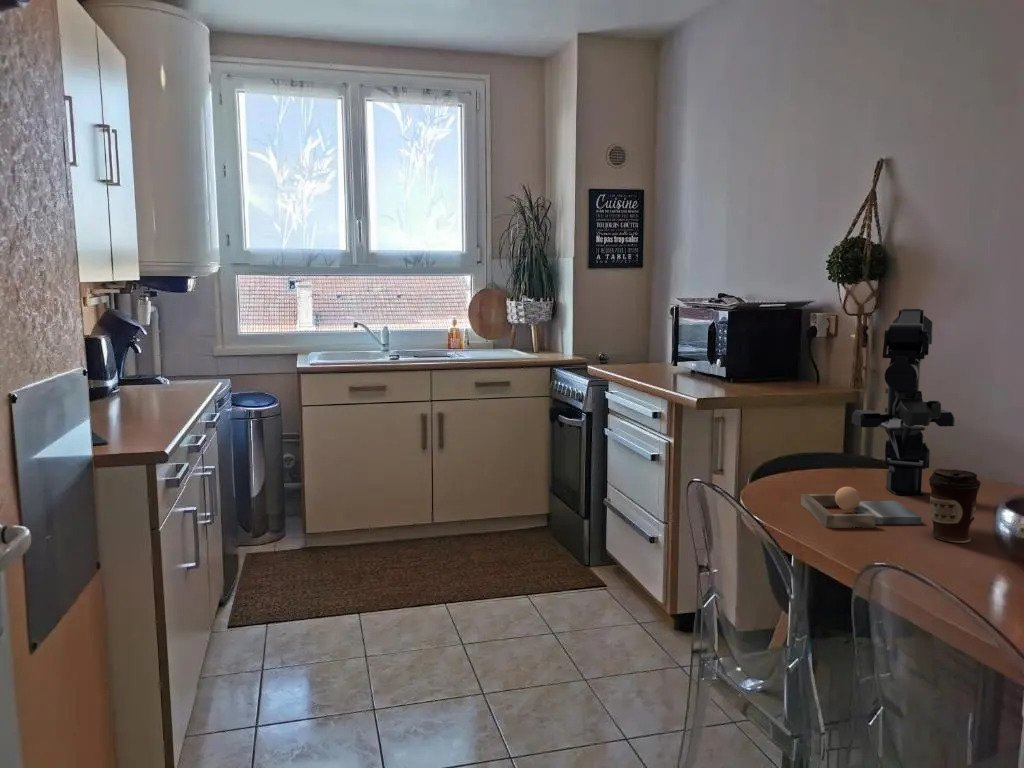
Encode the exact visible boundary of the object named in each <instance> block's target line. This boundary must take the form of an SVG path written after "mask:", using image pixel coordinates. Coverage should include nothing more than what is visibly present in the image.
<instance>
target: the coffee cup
mask: <svg viewBox="0 0 1024 768" xmlns="http://www.w3.org/2000/svg"><path fill="white" fill-rule="evenodd" d="M928 481H929V483H928V484H929V487H930V491H931V492H930V494H929V498H930V499H929V506H930V519H931V521H932V527H933V528H932V529H933V530H932V533H931V534H932V537H933V538H936V539H938V540H939V541H941V540H942V541H945V542H949V543H958V544H959V543H961V544H965V543H969V542H971V540H972V539H971V536H970V534H969V532H970V531H969V530H970V527H971V525H972V523H973V521H975V515H976V511H977V506H978V504H977V496H978V494H979V492H980V491H979V490H980V487H981V483H982V482H981V481H980V480H979V479H978V474H977V473H975V472H972V471H968V470H962V469H946V468H937V469H934V470H933V472H932V474H931V475H930V476H929V478H928Z"/></svg>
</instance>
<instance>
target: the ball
mask: <svg viewBox="0 0 1024 768" xmlns="http://www.w3.org/2000/svg"><path fill="white" fill-rule="evenodd" d="M834 494H835V501H836V504H837V505H838V506H839V508H840V509H842V510H844V511H852V510H853V509H855V508H856V507H858V505H859V503H860V501H861V496H860V493H859V491H858V490H856V488H854V487H852V486H842V487H840V488H839V489H838V490H836V491H835V493H834Z"/></svg>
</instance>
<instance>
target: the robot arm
mask: <svg viewBox="0 0 1024 768" xmlns="http://www.w3.org/2000/svg"><path fill="white" fill-rule="evenodd" d="M933 325H934V323H933V321H932V320H931V319H930V318H928V317H927V316H926V315H925V310H924V309H921V308H902V309H899V310H898V316H897V317H896V318H895V319H894V320H893V321H892V322H891V323H890V324H889V325H888V329H885V330H884V337H883V347H882V359H890V361H889V362H888V367H887V368H886V369H885V371H884V381H885V384H887V386H888V387H885V394H887V405H886V406H887V407H884V413H880V412H877V411H875V410H872V409H854V411H853V413H852V414H851V423H852V424H854V425H856V426H858V427H861V428H878V427H879V428H882V429H883V430H884V431H885V433H886V434H887V436H888V440H887V439H886V440H885V447H884V448H885V449H884V450H885V451H884V458H885V459H884V466H885V467H888V470H886V478H885V479H886V481H885V482H886V483H885V484H886V485H885V486H884V489H885V490H888V491H890V492H891V493H893V494H895V495H899V496H900V495H901V496H905V495H906V496H907V495H914V496H915V495H925V494H926V493H925V491H924V490H922V488H923V487H922V485H923V484H922V483H923V470H926V469H929V468H930V453H931V452H930V451H931V450H930V448H929V447H928V444H927V442H924V440H925V439H924V434H923V433H922V431H923V432H924V431H925V430H926V427H928V426H930V423H935V424H936V425H937V426H938V427H954V426H955V420H956V419H955V418H956V417H955V416H954V414H953V412H952V411H948V410H945V409H942V403H941V402H940V401H939V400H928V401H923V394H922V390H920V373H921V363H922V362H923V360H925V359H926V358H925V357H926V356H929V350H930V345H933V331H934V330H933V329H934V328H933Z"/></svg>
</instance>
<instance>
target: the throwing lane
mask: <svg viewBox="0 0 1024 768" xmlns="http://www.w3.org/2000/svg"><path fill="white" fill-rule="evenodd" d="M835 494H836V493H815V494H814V493H801V495H800V497H801V498H800V505H802V506H801V507H802V508H803V509H805V508H806V509H807V510H806V509H805V510H806V511H807V512H808V511H809V512H810V513H811V514H812V515H811V514H810V513H809V512H808V513H809V514H810V515H811V516H813V517H814V518H815V519H816V520H817V521H818V523H820V524H821V525H822V526H824V527H825V528H827V529H829V528H830V529H833V528H834V529H837V528H838V529H839V528H841V529H842V528H843V529H850V528H851V529H854V528H855V527H859V528H858V529H861V528H860V527H862V529H864V528H866V529H867V528H868V529H869V528H870V529H871V528H872V529H873V528H876V525H921V524H922V516H920V515H918V513H917V512H914V511H913V510H911V509H909V508H908V507H907V506H905V505H903V504H901V503H900V502H898V501H897V500H860V503H859V505H858V507H856V508H855V509H853V510H851V511H852V512H853V511H854V512H853V513H832V512H831V511H830V510H828V509H827V508H825V507H829V508H830V507H833V508H834V507H835V508H836V507H837V506H838V505H837V504H836V501H835ZM823 506H824V507H823ZM856 513H857V514H856ZM852 527H853V528H852ZM855 529H856V528H855Z"/></svg>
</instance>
